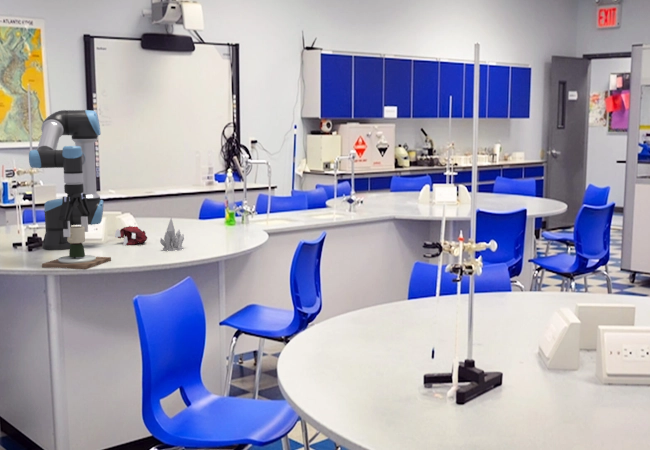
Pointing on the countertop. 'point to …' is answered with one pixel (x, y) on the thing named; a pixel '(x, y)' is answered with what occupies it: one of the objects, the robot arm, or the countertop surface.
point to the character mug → (76, 241)
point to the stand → (76, 266)
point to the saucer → (77, 259)
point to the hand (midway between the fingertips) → (76, 234)
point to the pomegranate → (131, 235)
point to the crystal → (172, 239)
